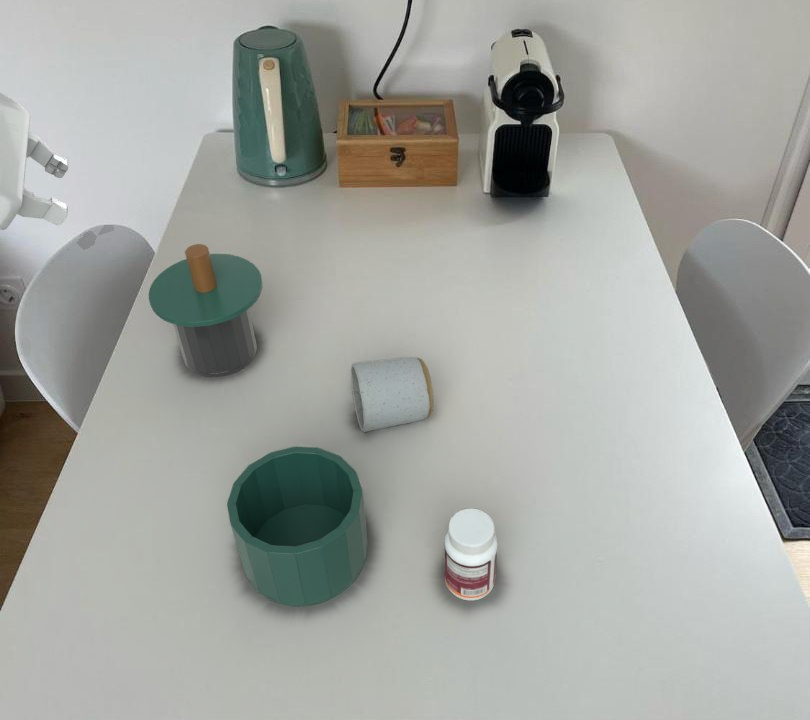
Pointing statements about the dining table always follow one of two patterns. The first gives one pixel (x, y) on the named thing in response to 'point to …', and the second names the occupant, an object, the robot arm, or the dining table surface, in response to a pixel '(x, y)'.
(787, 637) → the dining table surface
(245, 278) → the tin lid
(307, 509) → the tin
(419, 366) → the ceramic mug
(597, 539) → the dining table surface
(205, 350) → the cup
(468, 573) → the pill bottle
